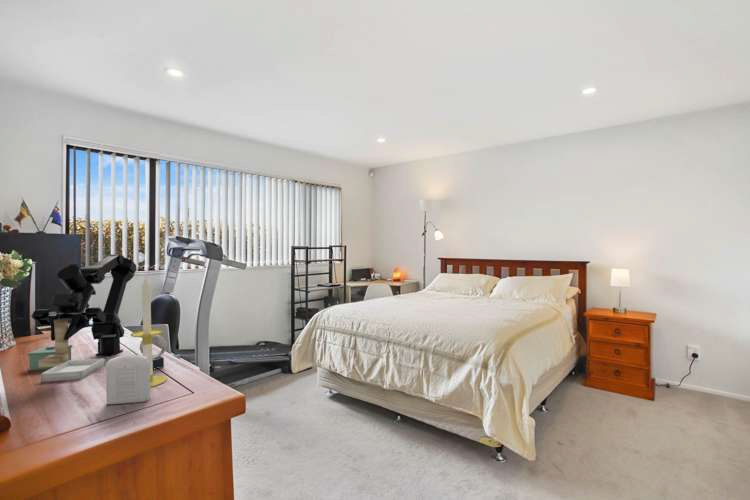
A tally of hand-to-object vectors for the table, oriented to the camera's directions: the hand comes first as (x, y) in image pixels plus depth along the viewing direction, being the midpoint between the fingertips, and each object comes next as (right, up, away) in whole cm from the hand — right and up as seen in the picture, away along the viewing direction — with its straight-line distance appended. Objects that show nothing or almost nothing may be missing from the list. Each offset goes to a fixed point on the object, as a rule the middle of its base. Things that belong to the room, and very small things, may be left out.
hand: (58, 339), depth 114 cm
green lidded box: (-16, -13, +16) cm, 26 cm away
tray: (-1, -13, +8) cm, 15 cm away
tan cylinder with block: (0, -7, -1) cm, 7 cm away
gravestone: (+31, -13, -15) cm, 37 cm away
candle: (+28, -13, -1) cm, 31 cm away
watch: (+22, -13, +13) cm, 28 cm away
